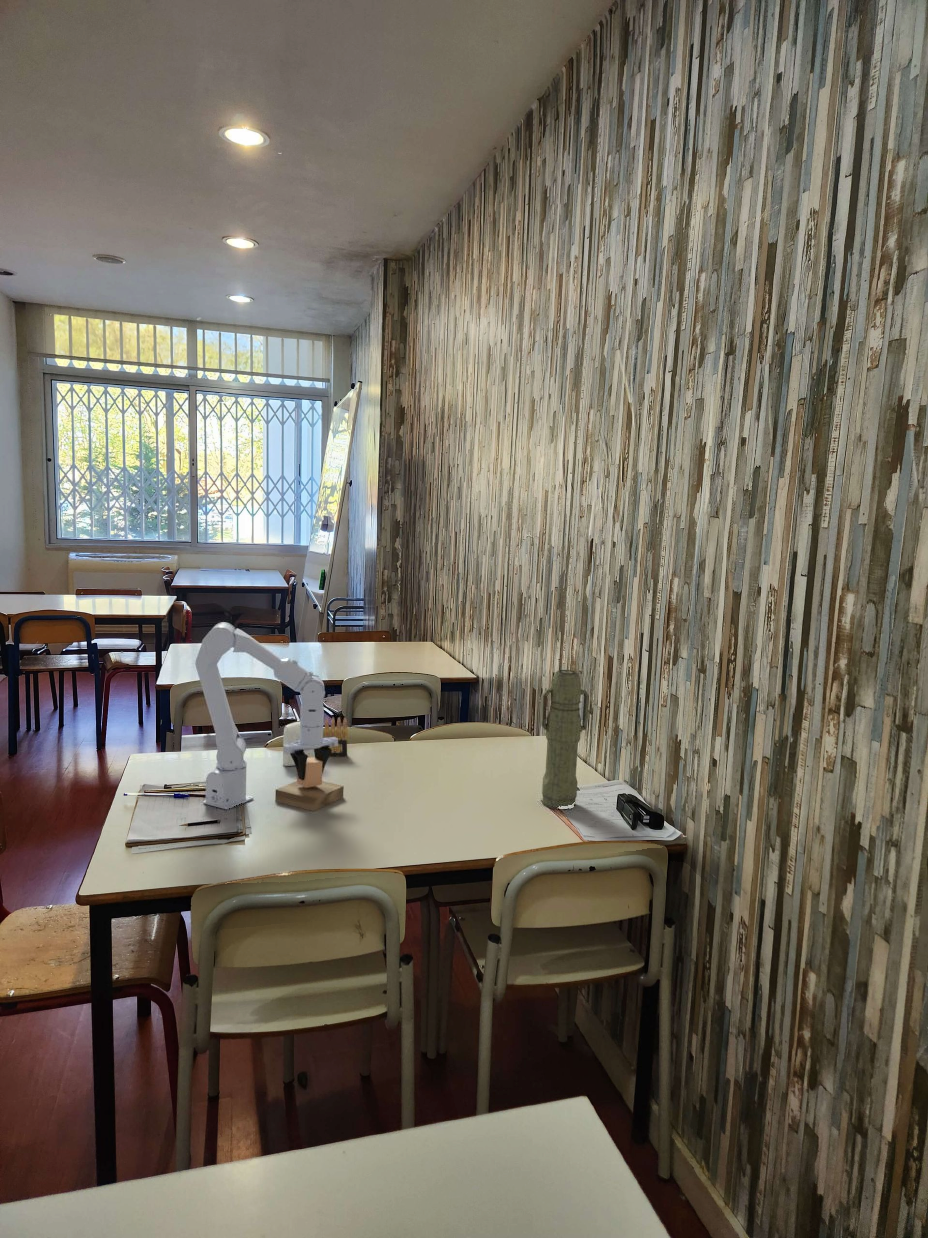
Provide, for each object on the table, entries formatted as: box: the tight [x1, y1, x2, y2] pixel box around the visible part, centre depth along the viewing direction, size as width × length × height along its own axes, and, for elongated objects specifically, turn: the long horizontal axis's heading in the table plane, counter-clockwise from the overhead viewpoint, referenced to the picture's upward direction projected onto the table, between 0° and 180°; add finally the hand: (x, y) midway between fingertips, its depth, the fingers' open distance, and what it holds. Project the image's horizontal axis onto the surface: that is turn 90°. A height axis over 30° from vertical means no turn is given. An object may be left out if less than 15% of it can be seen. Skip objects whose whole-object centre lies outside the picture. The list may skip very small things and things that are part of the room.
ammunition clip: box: [323, 716, 348, 758], centre depth 237 cm, size 11×2×12 cm, turn 101°
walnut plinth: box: [274, 780, 344, 812], centre depth 199 cm, size 12×12×3 cm
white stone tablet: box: [282, 721, 315, 767], centre depth 228 cm, size 10×4×12 cm, turn 123°
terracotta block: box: [296, 757, 323, 788], centre depth 199 cm, size 4×4×6 cm
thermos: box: [540, 669, 590, 810], centre depth 203 cm, size 9×12×35 cm
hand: (310, 777), depth 199 cm, fingers closed on terracotta block, 4 cm apart
